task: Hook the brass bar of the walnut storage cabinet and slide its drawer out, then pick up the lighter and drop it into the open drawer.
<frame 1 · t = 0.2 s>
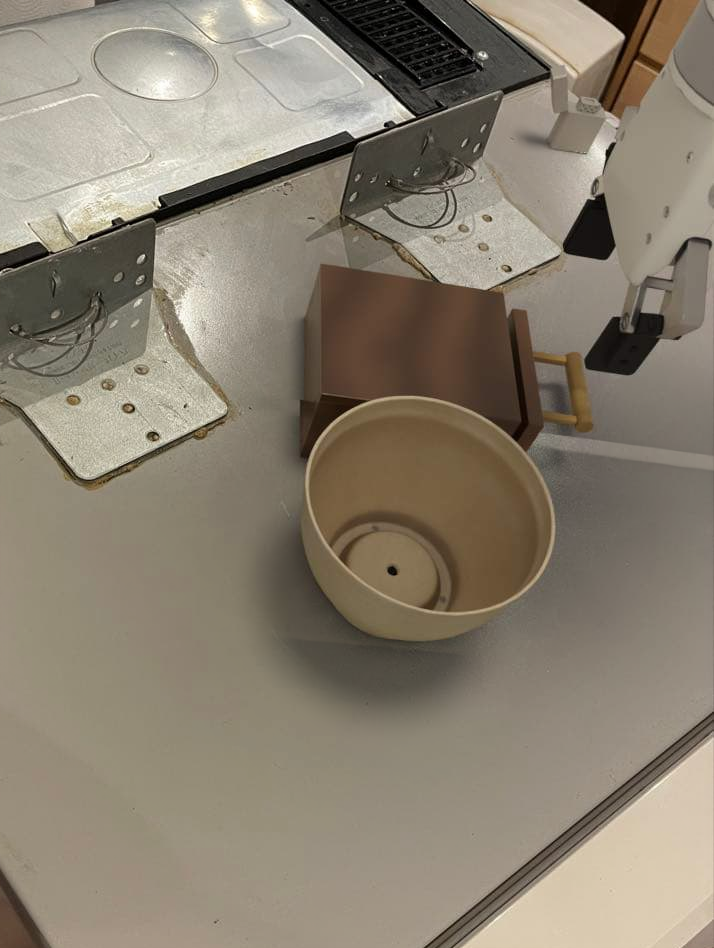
hand: (595, 309, 62), 18 cm above the counter, tool pointing down, fingers open, 9 cm apart
drawer: (470, 382, 77), point 4 cm above the counter, slide at 1.0 cm
planter bowl: (384, 580, 71), on the counter
cabinet: (389, 404, 79), on the counter
lighter: (553, 145, 101), on the counter
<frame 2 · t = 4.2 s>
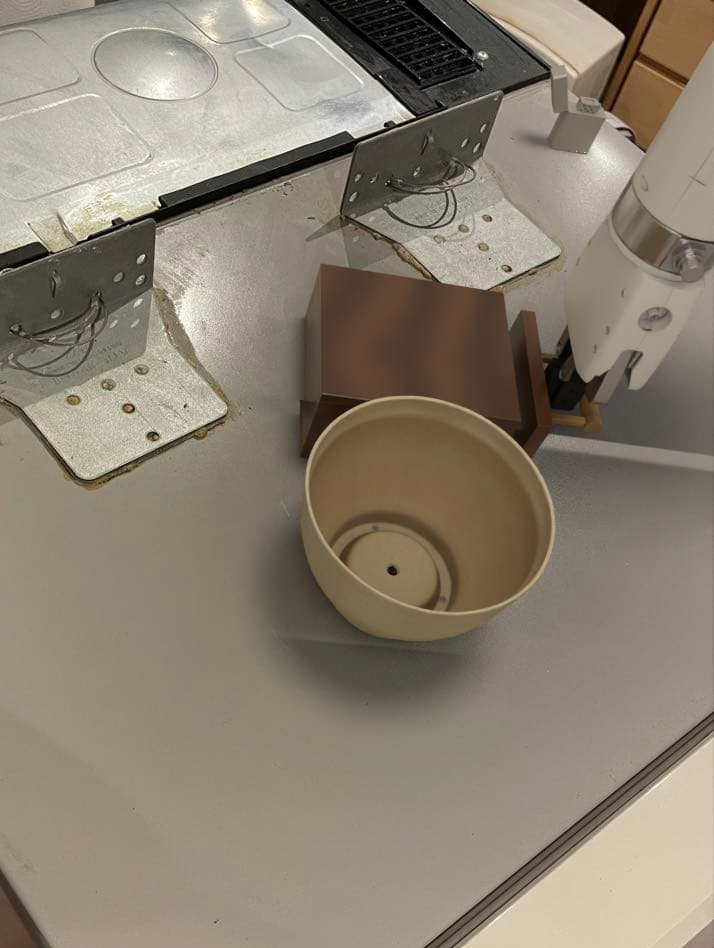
hand: (551, 400, 78), 3 cm above the counter, tool pointing down, fingers closed
drawer: (478, 384, 77), point 4 cm above the counter, slide at 1.7 cm, touching gripper
everything else where it was.
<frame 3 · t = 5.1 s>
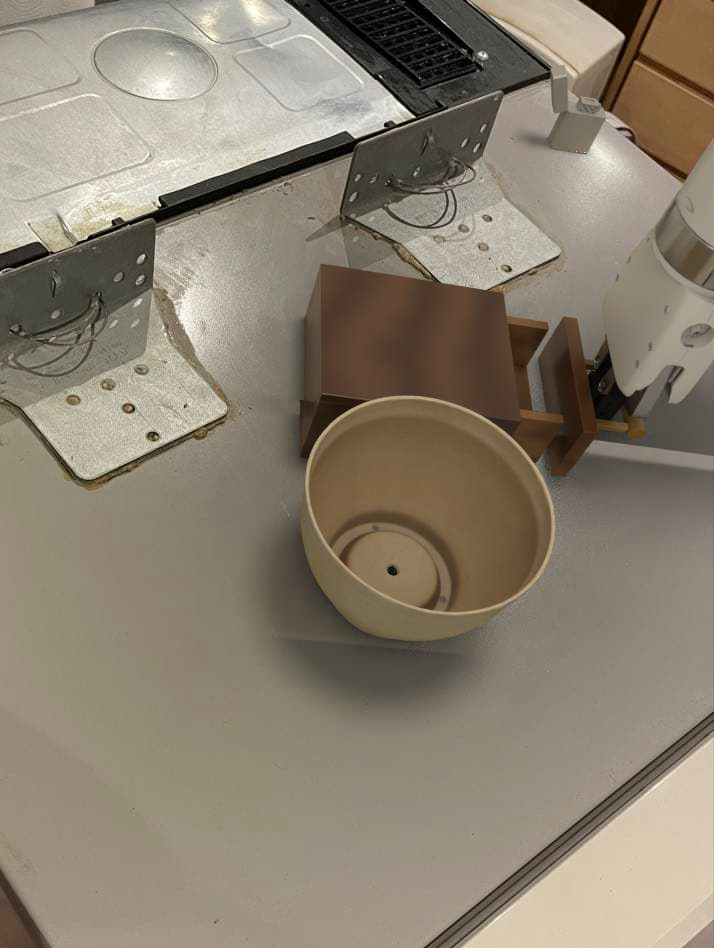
hand: (588, 412, 80), 2 cm above the counter, tool pointing down, fingers closed
drawer: (521, 390, 77), point 4 cm above the counter, slide at 5.3 cm, touching gripper
everything else where it was.
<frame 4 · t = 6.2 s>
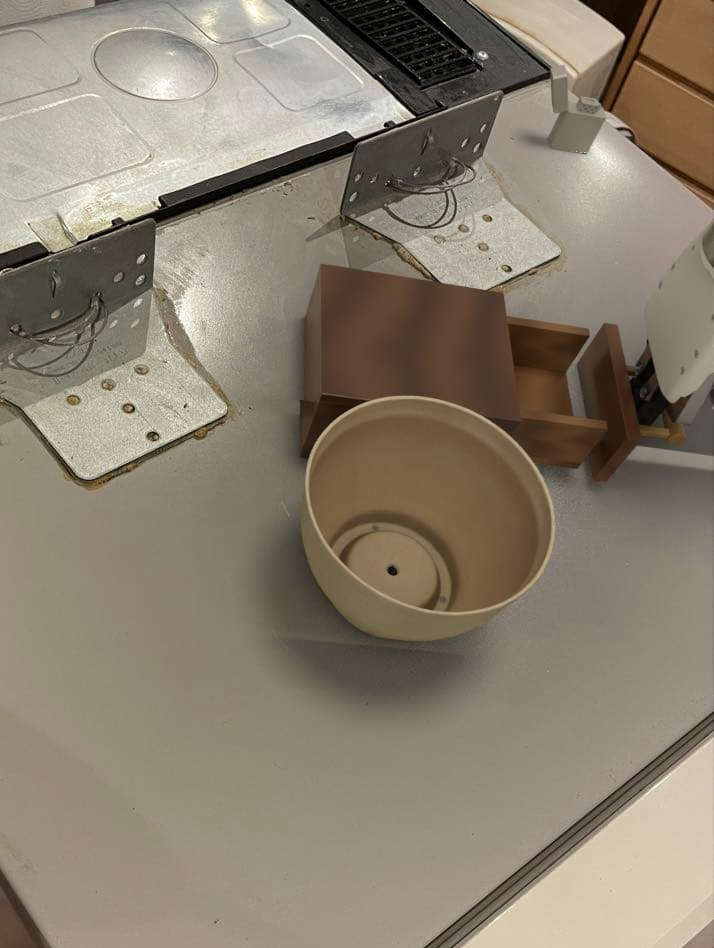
hand: (628, 418, 80), 2 cm above the counter, tool pointing down, fingers closed
drawer: (563, 396, 78), point 4 cm above the counter, slide at 8.8 cm, touching gripper
everything else where it was.
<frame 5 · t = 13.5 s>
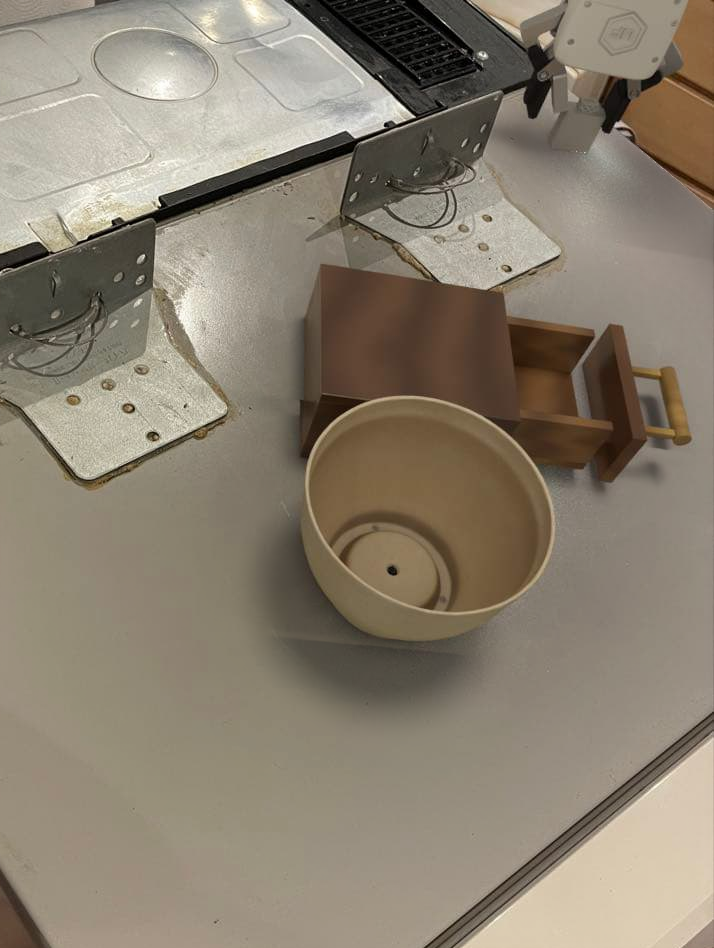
hand: (567, 116, 98), 3 cm above the counter, tool pointing down, fingers closed on lighter, 7 cm apart
drawer: (568, 396, 78), point 4 cm above the counter, slide at 9.2 cm
lighter: (553, 145, 101), on the counter, touching gripper
everything else where it was.
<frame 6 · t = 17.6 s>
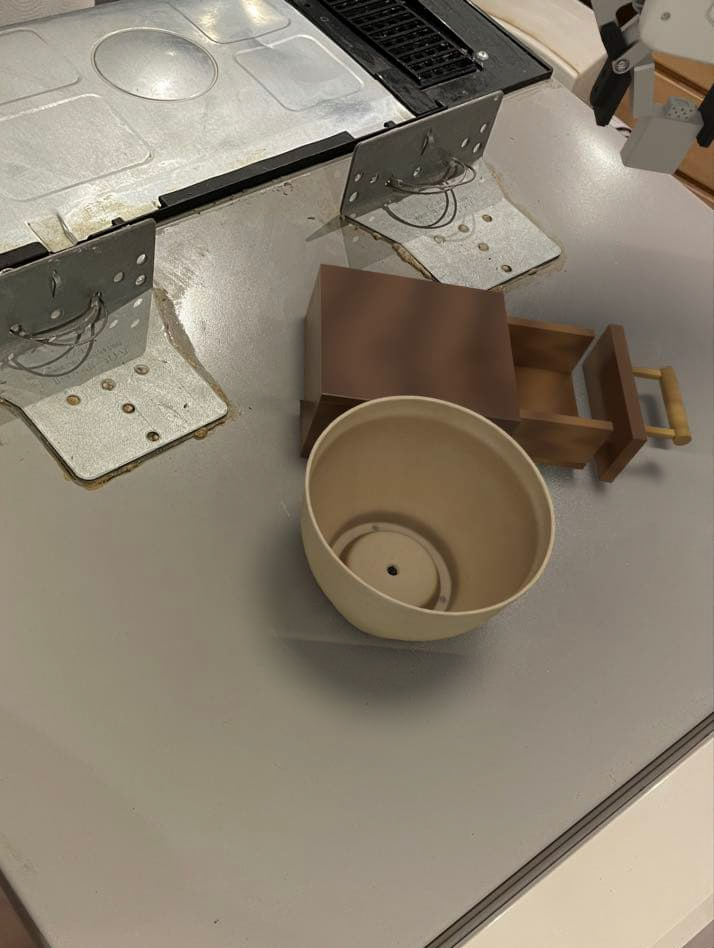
hand: (649, 123, 71), 20 cm above the counter, tool pointing down, fingers closed on lighter, 7 cm apart
lighter: (627, 162, 74), point 16 cm above the counter, touching gripper
everything else where it was.
when the fingers open (9 cm above the counter, at t = 22.0 s): lighter drops 3 cm, resting on drawer.
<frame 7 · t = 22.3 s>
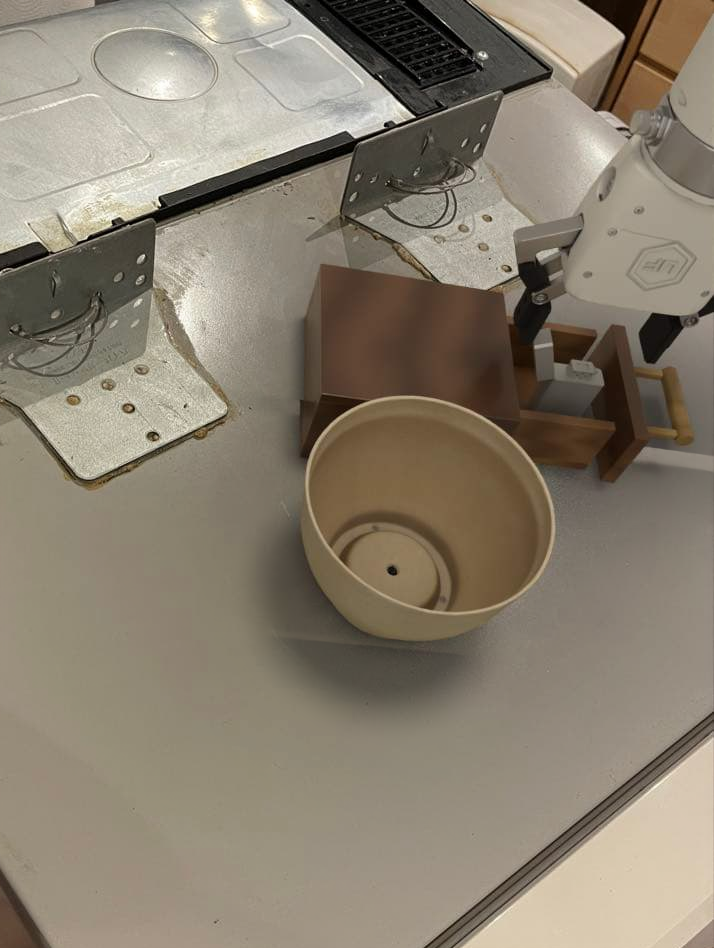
hand: (584, 340, 72), 10 cm above the counter, tool pointing down, fingers open, 9 cm apart
drawer: (571, 397, 78), point 4 cm above the counter, slide at 9.4 cm, touching lighter
lighter: (536, 408, 79), point 2 cm above the counter, touching drawer
everything else where it was.
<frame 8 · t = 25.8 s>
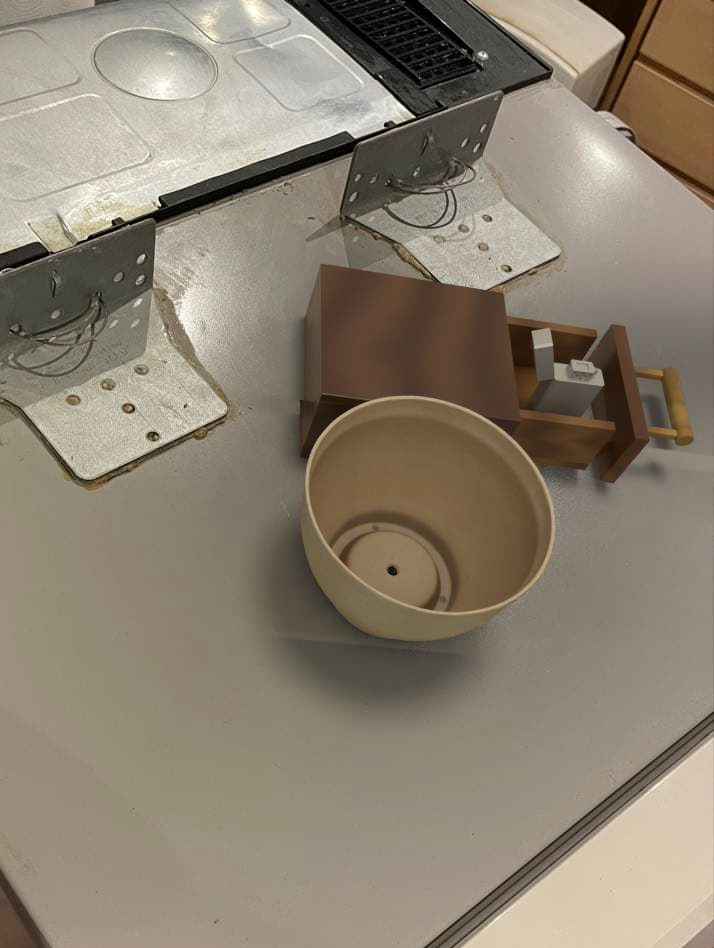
nothing on the counter moved.
at the end: drawer slide at 9.4 cm; lighter inside the target area in the drawer (2.0 cm from its centre), point 1.8 cm above the cabinet's base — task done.
